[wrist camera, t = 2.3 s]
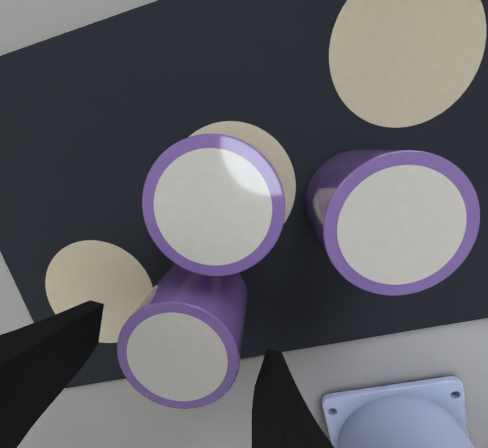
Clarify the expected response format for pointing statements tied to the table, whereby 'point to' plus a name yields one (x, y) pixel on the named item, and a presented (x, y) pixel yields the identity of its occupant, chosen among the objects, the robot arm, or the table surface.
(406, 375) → the table surface
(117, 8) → the table surface
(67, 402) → the table surface
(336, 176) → the purple cylinder white cap
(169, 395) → the purple canister
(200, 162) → the purple white-topped cylinder
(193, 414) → the table surface
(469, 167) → the mat
